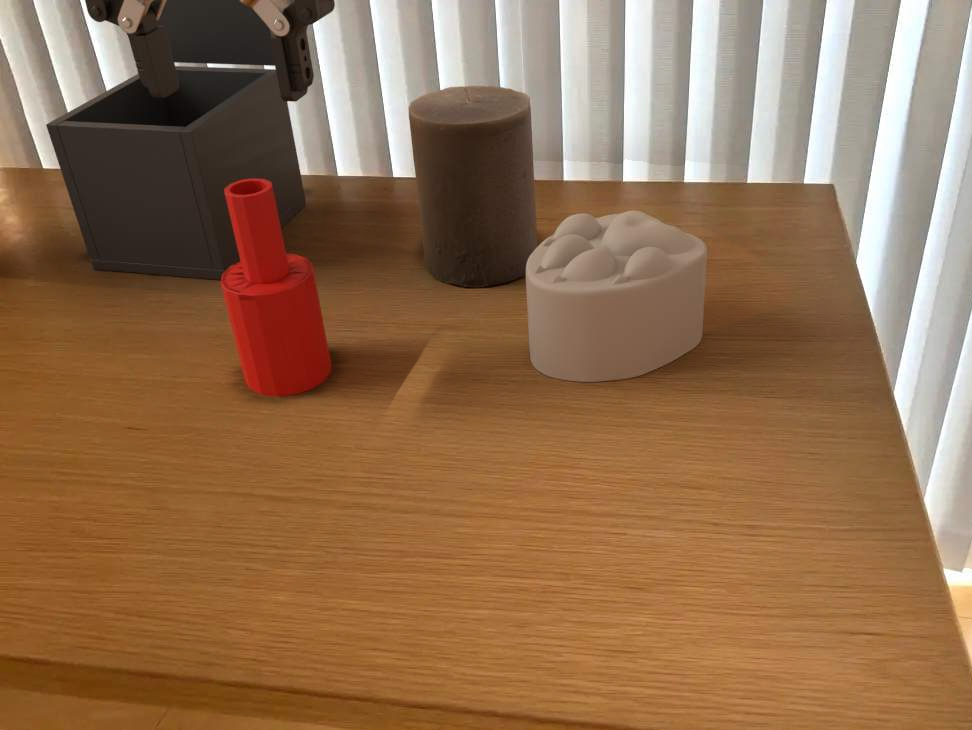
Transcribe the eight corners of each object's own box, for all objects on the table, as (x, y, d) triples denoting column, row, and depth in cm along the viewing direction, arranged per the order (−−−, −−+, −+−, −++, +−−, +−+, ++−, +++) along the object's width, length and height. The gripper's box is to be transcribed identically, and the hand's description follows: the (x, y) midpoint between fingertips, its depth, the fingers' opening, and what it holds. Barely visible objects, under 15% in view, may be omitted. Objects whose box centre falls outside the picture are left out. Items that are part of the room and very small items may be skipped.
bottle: (234, 405, 70) (181, 203, 61) (272, 360, 74) (228, 167, 66) (312, 414, 68) (270, 209, 60) (346, 368, 73) (311, 171, 64)
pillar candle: (455, 299, 81) (437, 116, 72) (408, 254, 88) (386, 82, 79) (560, 268, 85) (554, 90, 76) (506, 227, 92) (495, 60, 83)
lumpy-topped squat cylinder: (721, 337, 74) (729, 229, 70) (586, 403, 68) (584, 290, 63) (627, 287, 81) (628, 186, 76) (497, 343, 75) (488, 237, 70)
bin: (227, 281, 85) (190, 131, 78) (93, 269, 88) (45, 124, 81) (306, 204, 98) (281, 69, 90) (186, 196, 101) (153, 64, 93)
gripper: (319, -236, 52) (364, 79, 61) (79, -225, 55) (157, 74, 64) (252, -226, 46) (314, 121, 55) (-13, -215, 49) (87, 113, 58)
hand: (229, 95), depth 60 cm, fingers open, 8 cm apart
